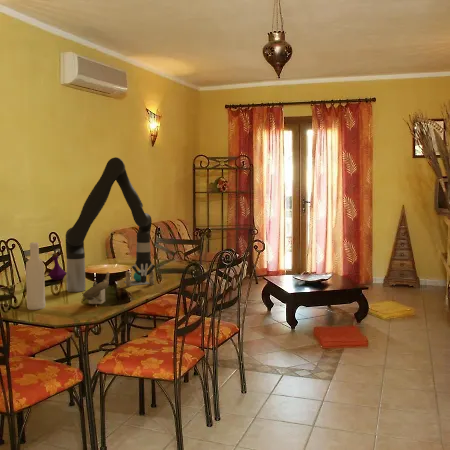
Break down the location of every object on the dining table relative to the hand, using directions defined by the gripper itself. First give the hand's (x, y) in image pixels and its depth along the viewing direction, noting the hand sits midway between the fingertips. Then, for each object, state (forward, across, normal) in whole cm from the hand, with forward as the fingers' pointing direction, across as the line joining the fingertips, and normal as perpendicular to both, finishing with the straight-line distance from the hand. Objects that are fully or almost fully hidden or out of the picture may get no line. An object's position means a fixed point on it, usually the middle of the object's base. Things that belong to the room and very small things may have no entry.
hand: (143, 282), depth 280 cm
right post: (+3, -7, -8) cm, 11 cm away
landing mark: (+3, 0, -16) cm, 16 cm away
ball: (0, -2, -19) cm, 19 cm away
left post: (+3, +6, -8) cm, 11 cm away
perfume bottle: (+4, +40, -43) cm, 59 cm away
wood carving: (+4, +27, +19) cm, 34 cm away
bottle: (+4, +55, +21) cm, 59 cm away
